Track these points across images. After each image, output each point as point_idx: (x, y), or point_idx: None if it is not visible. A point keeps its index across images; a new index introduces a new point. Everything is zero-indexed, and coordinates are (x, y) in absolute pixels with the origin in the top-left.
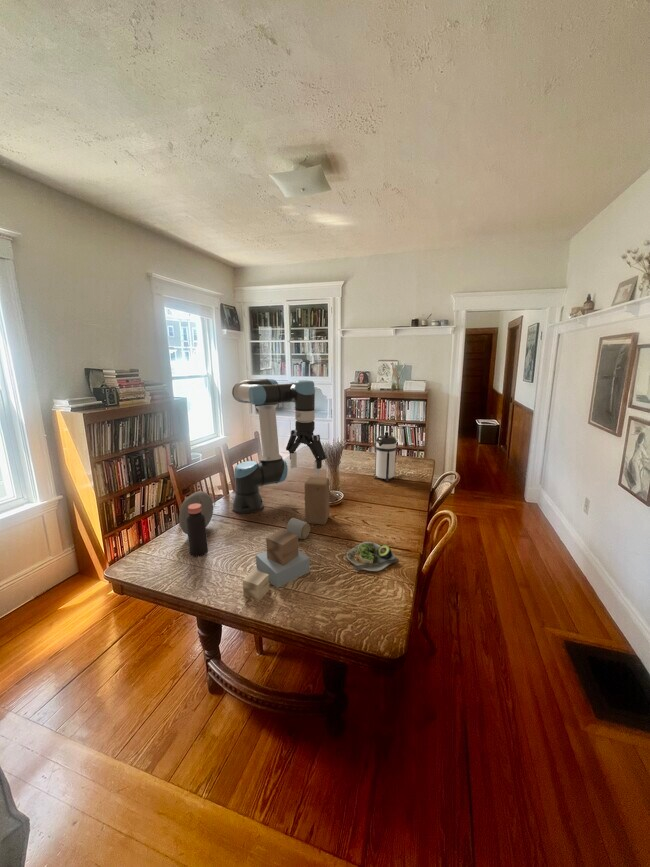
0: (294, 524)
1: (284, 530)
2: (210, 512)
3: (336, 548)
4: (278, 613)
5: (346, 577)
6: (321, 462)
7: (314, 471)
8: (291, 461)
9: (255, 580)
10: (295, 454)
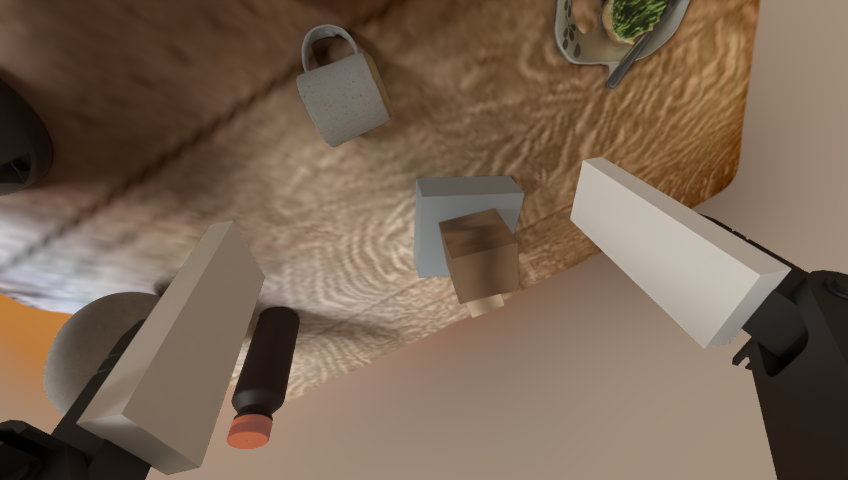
0: (353, 129)
1: (466, 258)
2: (129, 320)
3: (500, 33)
4: (537, 270)
5: (594, 120)
6: (779, 260)
7: (600, 247)
8: (236, 344)
9: (491, 304)
10: (162, 386)
